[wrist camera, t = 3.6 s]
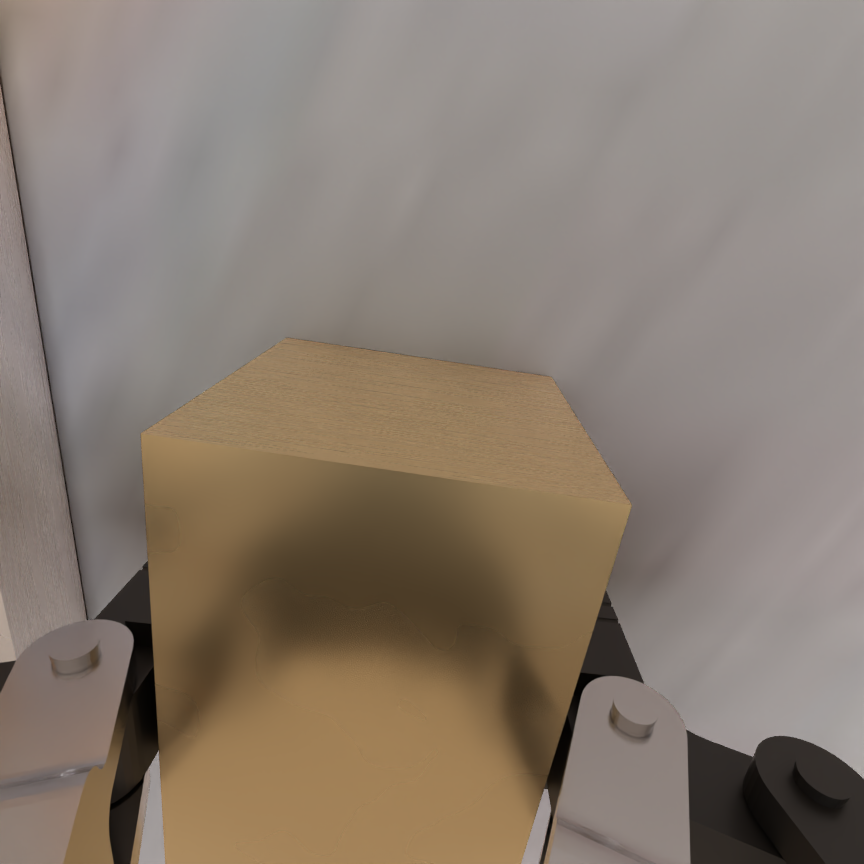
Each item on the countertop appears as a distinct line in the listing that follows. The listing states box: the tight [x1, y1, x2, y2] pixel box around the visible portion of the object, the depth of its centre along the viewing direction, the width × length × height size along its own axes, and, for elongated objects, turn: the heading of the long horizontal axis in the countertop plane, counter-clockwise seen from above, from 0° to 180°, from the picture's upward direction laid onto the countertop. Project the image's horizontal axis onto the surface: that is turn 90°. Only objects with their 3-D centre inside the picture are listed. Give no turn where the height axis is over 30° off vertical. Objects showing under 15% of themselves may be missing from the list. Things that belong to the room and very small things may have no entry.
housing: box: [141, 338, 632, 864], centre depth 9 cm, size 8×5×5 cm, turn 172°
